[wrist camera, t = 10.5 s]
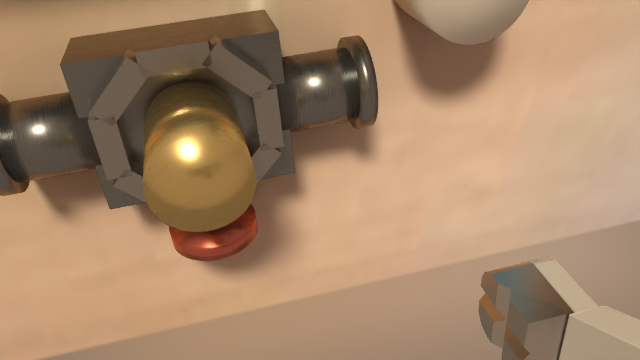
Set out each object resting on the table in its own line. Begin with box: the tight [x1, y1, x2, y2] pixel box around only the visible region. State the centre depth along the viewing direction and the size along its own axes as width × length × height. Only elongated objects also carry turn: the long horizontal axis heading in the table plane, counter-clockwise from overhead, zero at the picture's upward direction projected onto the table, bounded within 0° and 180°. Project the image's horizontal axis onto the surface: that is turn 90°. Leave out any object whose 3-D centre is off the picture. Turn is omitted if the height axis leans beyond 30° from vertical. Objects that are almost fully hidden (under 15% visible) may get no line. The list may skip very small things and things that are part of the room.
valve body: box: [0, 10, 378, 261], centre depth 30 cm, size 19×12×5 cm, turn 95°
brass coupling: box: [143, 82, 257, 232], centre depth 25 cm, size 5×5×6 cm
